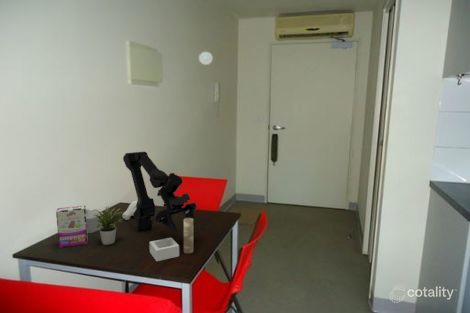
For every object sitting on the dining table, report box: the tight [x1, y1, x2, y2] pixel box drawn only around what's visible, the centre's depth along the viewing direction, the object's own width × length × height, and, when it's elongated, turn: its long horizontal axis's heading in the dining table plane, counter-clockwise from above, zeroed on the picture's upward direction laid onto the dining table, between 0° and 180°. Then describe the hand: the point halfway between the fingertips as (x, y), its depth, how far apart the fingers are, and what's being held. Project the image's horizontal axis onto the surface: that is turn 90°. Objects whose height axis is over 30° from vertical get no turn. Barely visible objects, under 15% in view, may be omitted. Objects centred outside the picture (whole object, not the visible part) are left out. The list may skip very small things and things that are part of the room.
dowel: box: [183, 217, 194, 254], centre depth 133 cm, size 4×4×14 cm
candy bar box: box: [55, 204, 88, 249], centre depth 137 cm, size 11×5×16 cm, turn 114°
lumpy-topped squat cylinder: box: [86, 208, 105, 234], centre depth 157 cm, size 10×13×9 cm
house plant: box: [92, 206, 124, 246], centre depth 139 cm, size 14×14×16 cm
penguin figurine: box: [122, 200, 138, 221], centre depth 173 cm, size 6×8×12 cm
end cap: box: [149, 237, 180, 262], centre depth 130 cm, size 9×9×4 cm
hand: (185, 229), depth 134 cm, fingers open, 9 cm apart
